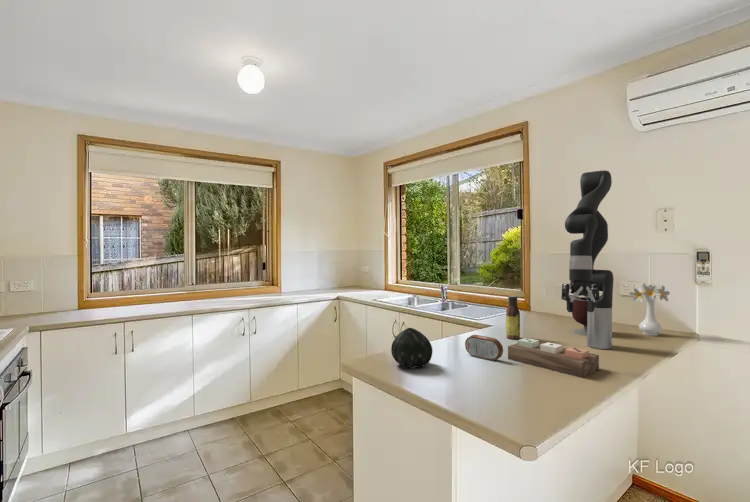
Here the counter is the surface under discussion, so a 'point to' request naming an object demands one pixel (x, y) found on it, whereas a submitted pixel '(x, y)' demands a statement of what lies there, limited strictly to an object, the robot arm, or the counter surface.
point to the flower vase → (650, 307)
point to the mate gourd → (580, 314)
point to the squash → (411, 349)
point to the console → (554, 360)
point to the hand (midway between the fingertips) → (580, 312)
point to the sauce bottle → (513, 319)
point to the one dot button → (551, 347)
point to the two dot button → (528, 343)
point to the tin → (484, 347)
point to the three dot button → (577, 353)
